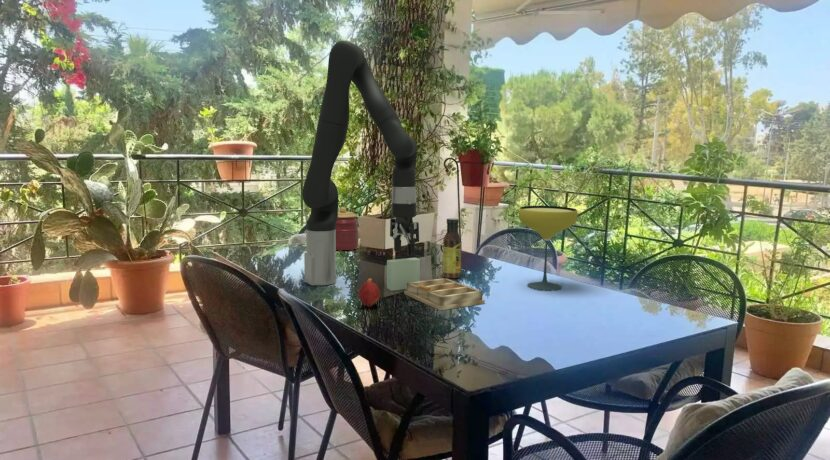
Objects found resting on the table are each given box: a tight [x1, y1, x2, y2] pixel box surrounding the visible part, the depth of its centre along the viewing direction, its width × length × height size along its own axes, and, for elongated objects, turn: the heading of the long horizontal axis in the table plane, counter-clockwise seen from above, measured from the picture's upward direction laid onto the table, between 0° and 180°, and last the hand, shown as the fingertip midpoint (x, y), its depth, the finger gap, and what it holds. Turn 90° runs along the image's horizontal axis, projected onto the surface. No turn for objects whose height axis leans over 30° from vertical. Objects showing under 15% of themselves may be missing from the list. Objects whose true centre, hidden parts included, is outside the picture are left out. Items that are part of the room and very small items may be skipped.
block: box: [386, 257, 421, 292], centre depth 192 cm, size 10×3×9 cm, turn 120°
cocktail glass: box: [518, 205, 579, 292], centre depth 194 cm, size 18×18×25 cm
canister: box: [336, 206, 360, 252], centre depth 258 cm, size 13×13×18 cm
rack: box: [403, 277, 486, 311], centre depth 179 cm, size 15×20×4 cm
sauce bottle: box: [441, 217, 462, 279], centre depth 207 cm, size 6×6×20 cm
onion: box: [358, 278, 381, 308], centre depth 169 cm, size 6×6×8 cm
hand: (404, 253), depth 190 cm, fingers open, 8 cm apart
